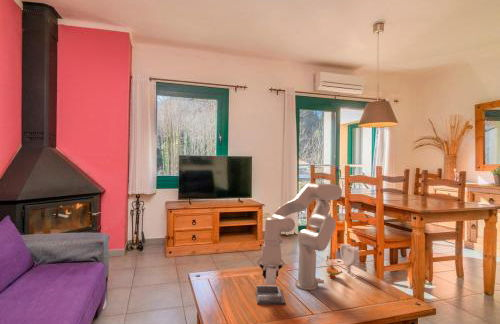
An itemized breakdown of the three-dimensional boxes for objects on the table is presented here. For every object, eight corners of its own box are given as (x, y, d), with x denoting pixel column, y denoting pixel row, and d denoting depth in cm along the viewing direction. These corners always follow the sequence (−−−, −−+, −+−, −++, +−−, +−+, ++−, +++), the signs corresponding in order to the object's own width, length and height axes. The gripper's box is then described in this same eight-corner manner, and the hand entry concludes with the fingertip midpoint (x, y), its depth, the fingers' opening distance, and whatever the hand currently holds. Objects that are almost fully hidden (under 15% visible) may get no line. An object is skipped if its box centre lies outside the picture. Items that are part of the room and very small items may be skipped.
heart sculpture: (338, 269, 189) (339, 242, 189) (345, 269, 190) (346, 241, 190) (352, 279, 174) (353, 249, 174) (359, 278, 175) (360, 249, 175)
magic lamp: (336, 285, 166) (337, 265, 165) (321, 272, 183) (321, 255, 183) (347, 284, 167) (348, 265, 167) (330, 271, 185) (331, 254, 185)
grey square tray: (281, 291, 155) (282, 285, 155) (285, 304, 141) (286, 297, 141) (255, 291, 155) (256, 284, 155) (257, 304, 141) (257, 297, 141)
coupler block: (274, 279, 151) (274, 263, 151) (275, 284, 144) (276, 268, 144) (264, 278, 151) (265, 263, 151) (265, 284, 144) (266, 268, 144)
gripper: (287, 240, 152) (285, 275, 152) (254, 239, 151) (253, 274, 151) (289, 244, 144) (287, 281, 144) (255, 243, 144) (253, 280, 144)
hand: (270, 277), depth 148 cm, fingers closed on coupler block, 5 cm apart
